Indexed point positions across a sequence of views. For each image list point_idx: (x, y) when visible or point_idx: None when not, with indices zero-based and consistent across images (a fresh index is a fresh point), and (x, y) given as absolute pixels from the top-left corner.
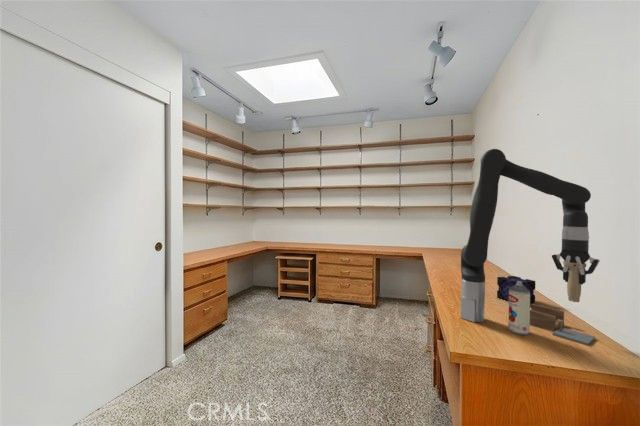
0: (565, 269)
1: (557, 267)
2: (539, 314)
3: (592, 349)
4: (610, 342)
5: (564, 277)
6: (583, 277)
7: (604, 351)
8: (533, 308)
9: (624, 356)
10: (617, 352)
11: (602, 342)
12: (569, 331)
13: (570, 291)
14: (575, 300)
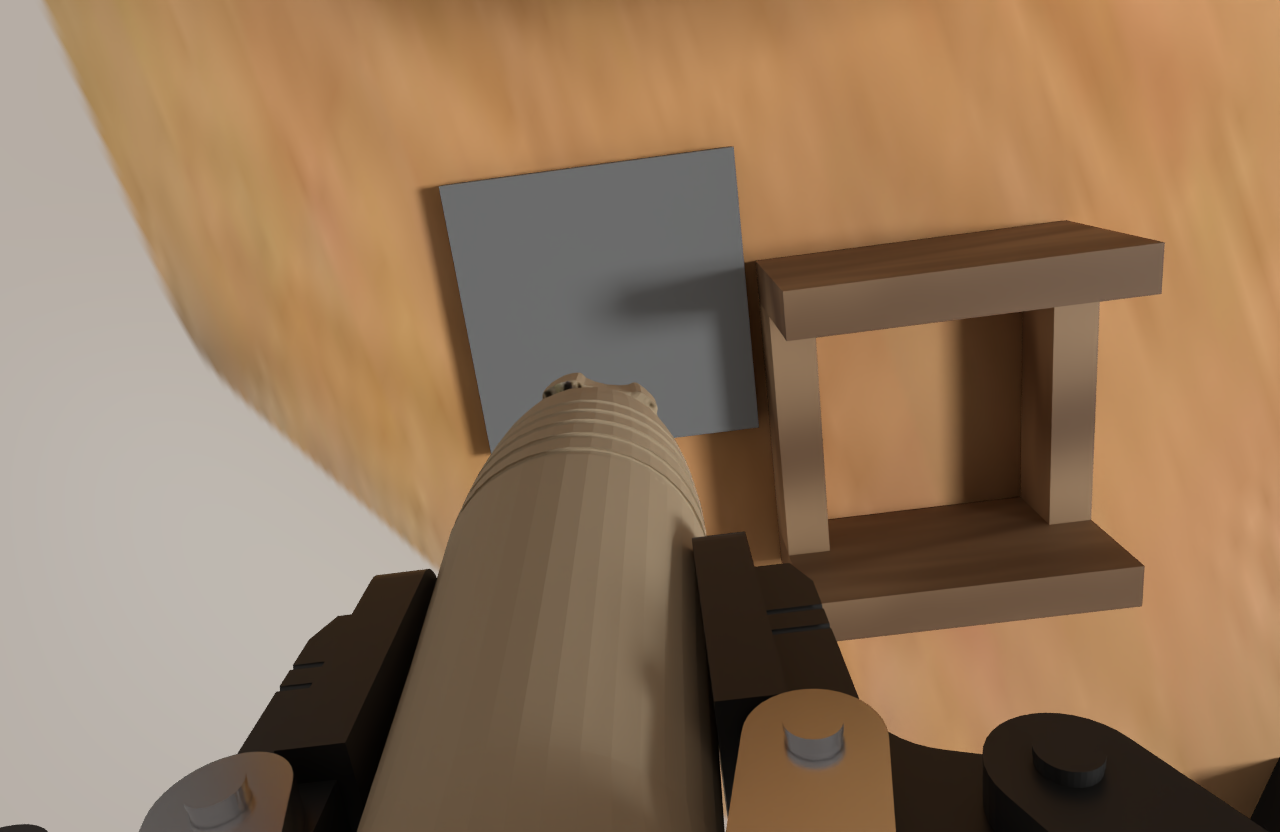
0: (797, 775)
1: (1137, 771)
2: (945, 265)
3: (384, 119)
4: (400, 484)
5: (781, 605)
6: (281, 723)
7: (319, 181)
8: (1095, 544)
9: (202, 229)
10: (267, 274)
11: (428, 415)
12: (664, 372)
13: (606, 416)
14: (546, 394)
